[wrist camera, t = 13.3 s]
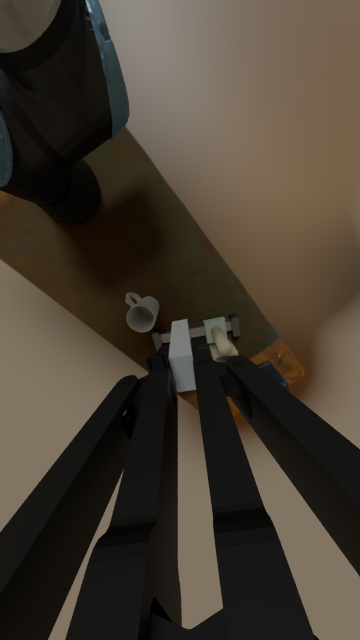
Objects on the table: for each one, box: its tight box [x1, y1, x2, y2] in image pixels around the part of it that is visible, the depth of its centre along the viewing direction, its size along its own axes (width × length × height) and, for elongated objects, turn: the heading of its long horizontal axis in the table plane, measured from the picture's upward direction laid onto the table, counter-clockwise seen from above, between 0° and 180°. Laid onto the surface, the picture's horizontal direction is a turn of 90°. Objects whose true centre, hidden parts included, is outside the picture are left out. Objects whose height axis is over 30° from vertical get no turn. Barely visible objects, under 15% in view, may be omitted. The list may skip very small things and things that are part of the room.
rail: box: [152, 314, 240, 351], centre depth 52 cm, size 6×26×4 cm, turn 102°
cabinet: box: [208, 339, 238, 362], centre depth 51 cm, size 7×7×10 cm
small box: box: [256, 361, 290, 392], centre depth 54 cm, size 11×6×10 cm, turn 25°
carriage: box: [203, 317, 233, 356], centre depth 46 cm, size 7×6×14 cm
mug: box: [125, 292, 159, 332], centre depth 45 cm, size 10×7×12 cm, turn 36°
